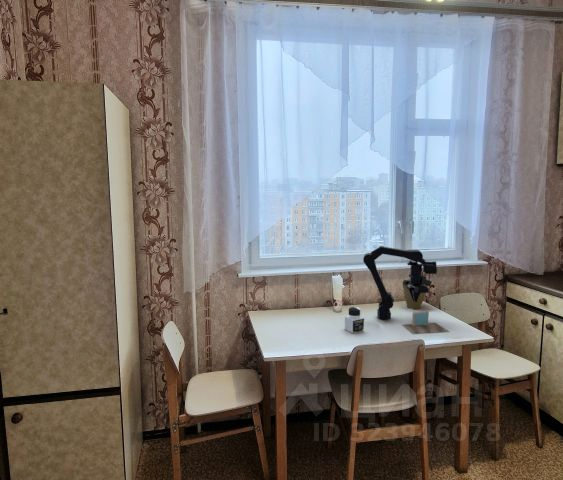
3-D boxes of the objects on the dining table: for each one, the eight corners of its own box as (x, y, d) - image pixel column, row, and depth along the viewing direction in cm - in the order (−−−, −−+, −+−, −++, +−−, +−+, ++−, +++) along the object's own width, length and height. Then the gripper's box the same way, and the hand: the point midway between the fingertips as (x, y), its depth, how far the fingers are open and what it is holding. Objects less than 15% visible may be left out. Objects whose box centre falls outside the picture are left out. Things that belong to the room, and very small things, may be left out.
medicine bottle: (352, 333, 207) (353, 310, 205) (344, 329, 213) (344, 307, 211) (363, 331, 210) (364, 308, 208) (355, 327, 216) (355, 305, 214)
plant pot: (410, 311, 241) (411, 285, 238) (396, 304, 255) (397, 279, 253) (432, 309, 245) (433, 284, 242) (417, 302, 259) (418, 278, 257)
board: (412, 336, 202) (412, 334, 202) (400, 326, 216) (400, 324, 216) (449, 334, 205) (450, 331, 205) (435, 324, 219) (435, 322, 219)
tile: (414, 326, 214) (414, 313, 213) (412, 324, 216) (412, 311, 215) (428, 325, 215) (428, 312, 214) (426, 323, 217) (426, 311, 216)
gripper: (439, 276, 211) (437, 305, 213) (421, 269, 229) (420, 296, 231) (418, 277, 209) (417, 306, 211) (402, 269, 227) (401, 296, 229)
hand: (414, 301), depth 221 cm, fingers closed
